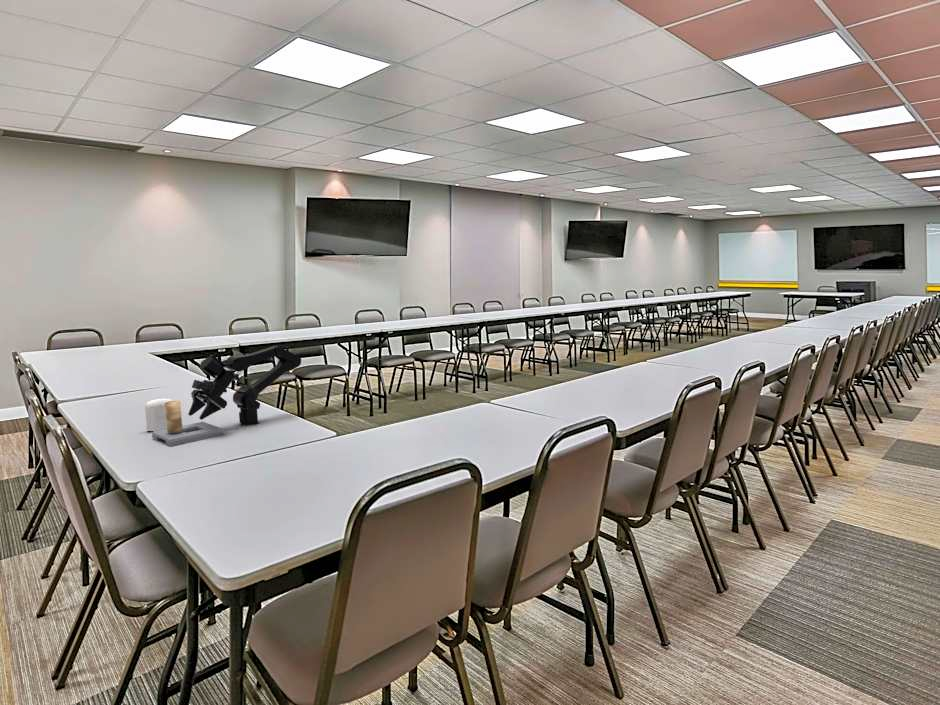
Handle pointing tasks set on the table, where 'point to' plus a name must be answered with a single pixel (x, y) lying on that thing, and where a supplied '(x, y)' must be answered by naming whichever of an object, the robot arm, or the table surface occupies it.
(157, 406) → the photo printer
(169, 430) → the ribbed peg
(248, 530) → the table surface
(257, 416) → the robot arm
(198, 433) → the keyhole plate
